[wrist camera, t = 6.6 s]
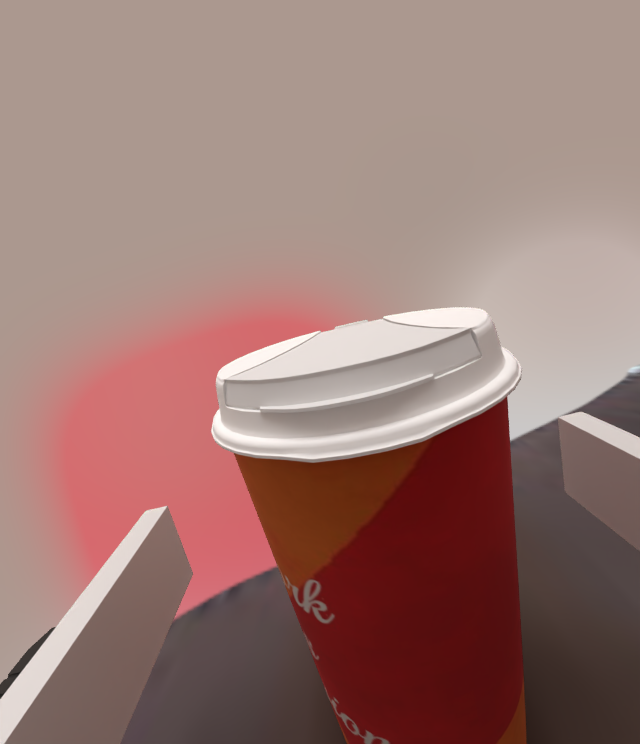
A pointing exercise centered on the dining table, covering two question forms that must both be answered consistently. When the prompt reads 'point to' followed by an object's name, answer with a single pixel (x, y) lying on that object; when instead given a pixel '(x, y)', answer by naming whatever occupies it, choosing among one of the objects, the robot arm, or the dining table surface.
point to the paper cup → (392, 517)
